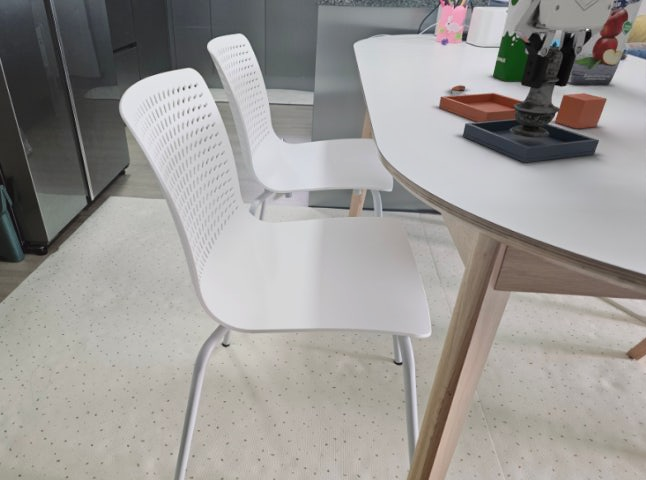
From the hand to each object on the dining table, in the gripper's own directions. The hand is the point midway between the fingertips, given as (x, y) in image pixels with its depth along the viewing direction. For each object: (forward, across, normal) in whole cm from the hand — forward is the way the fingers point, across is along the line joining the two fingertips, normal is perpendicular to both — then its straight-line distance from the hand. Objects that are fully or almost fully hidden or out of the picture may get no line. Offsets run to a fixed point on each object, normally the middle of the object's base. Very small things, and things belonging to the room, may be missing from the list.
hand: (543, 84), depth 65 cm
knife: (+9, +13, +34) cm, 37 cm away
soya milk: (+9, +38, +46) cm, 60 cm away
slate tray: (+8, 0, 0) cm, 8 cm away
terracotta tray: (+8, +8, +18) cm, 21 cm away
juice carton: (+9, +51, +37) cm, 63 cm away
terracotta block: (+8, +17, +7) cm, 20 cm away
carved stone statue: (+7, 0, 0) cm, 7 cm away
